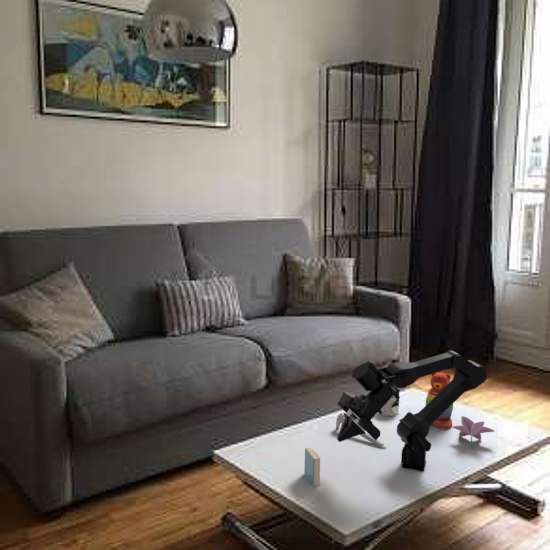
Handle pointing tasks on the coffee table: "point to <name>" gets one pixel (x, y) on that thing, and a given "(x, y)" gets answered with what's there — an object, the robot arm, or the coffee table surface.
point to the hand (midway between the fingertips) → (338, 440)
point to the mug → (391, 407)
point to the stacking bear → (438, 385)
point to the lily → (471, 428)
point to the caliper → (341, 420)
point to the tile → (312, 466)
